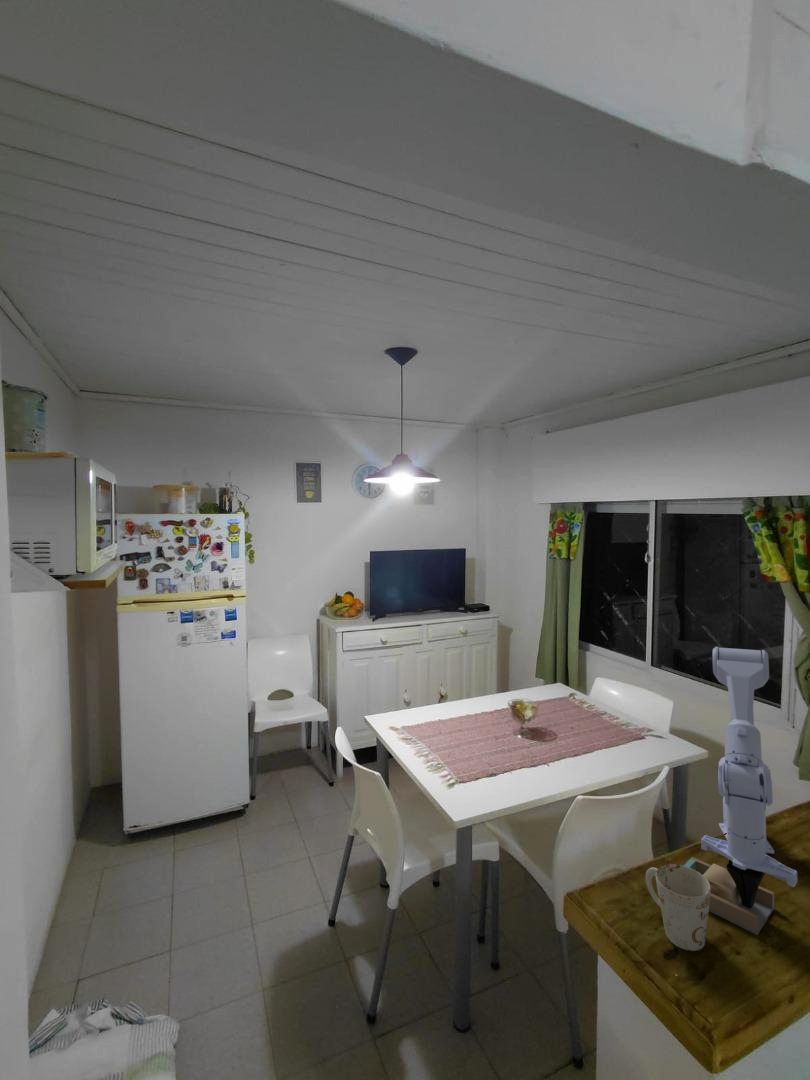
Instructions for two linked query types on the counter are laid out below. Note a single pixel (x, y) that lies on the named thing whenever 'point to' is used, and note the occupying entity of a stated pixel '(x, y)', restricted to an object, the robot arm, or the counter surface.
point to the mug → (682, 904)
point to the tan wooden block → (722, 884)
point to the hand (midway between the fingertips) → (748, 904)
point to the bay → (739, 914)
